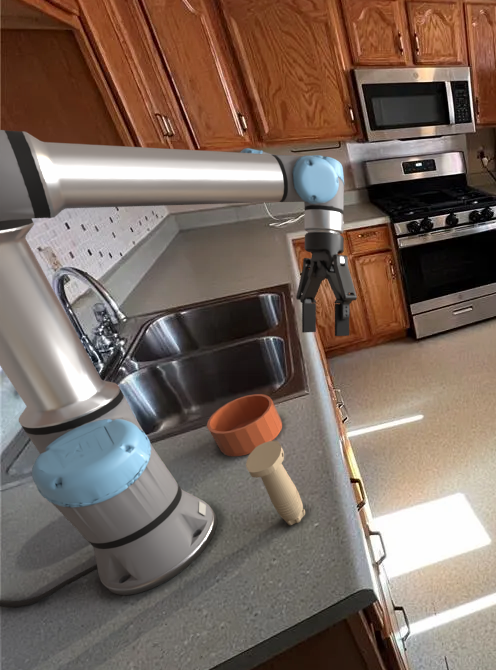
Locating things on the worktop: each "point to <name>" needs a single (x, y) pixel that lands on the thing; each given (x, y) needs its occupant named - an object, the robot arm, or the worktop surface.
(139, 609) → the worktop surface
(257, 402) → the crock
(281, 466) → the handle
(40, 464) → the robot arm
